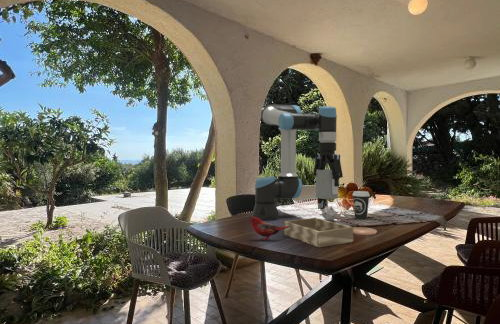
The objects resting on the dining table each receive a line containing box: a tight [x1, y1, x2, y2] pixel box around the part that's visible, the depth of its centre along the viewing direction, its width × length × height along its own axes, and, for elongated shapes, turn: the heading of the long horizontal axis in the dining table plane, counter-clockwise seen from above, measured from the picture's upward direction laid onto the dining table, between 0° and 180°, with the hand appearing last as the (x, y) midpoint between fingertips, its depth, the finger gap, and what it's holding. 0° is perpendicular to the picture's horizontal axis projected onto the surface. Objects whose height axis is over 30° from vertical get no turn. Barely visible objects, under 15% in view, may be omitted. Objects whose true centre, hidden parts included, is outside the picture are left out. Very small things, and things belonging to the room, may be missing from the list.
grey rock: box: [319, 205, 339, 222], centre depth 186 cm, size 9×8×10 cm
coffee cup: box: [351, 190, 371, 220], centre depth 194 cm, size 10×10×15 cm
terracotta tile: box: [353, 226, 378, 236], centre depth 160 cm, size 12×12×1 cm
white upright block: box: [315, 168, 339, 200], centre depth 151 cm, size 10×10×12 cm
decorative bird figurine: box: [248, 217, 290, 241], centre depth 145 cm, size 3×18×10 cm, turn 84°
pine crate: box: [283, 217, 354, 248], centre depth 149 cm, size 24×18×6 cm
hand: (327, 192), depth 151 cm, fingers closed on white upright block, 9 cm apart
